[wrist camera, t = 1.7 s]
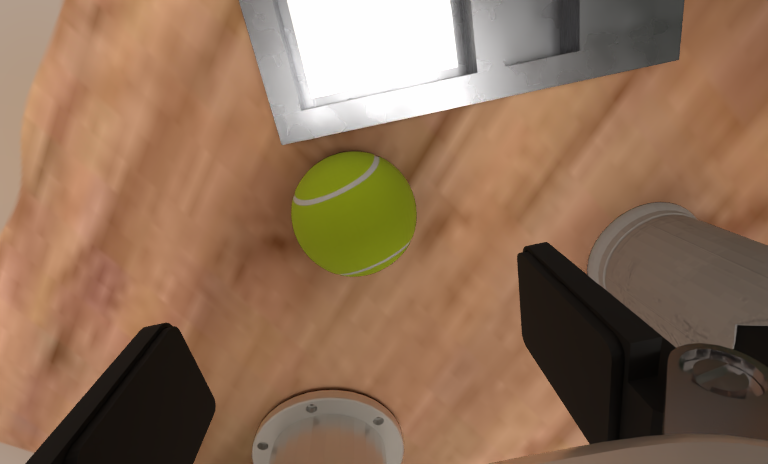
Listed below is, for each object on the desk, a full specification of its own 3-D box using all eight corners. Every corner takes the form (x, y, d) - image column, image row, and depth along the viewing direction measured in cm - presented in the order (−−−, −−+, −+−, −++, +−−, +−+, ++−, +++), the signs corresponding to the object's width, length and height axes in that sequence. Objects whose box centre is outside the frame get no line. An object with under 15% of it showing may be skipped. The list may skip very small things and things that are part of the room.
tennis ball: (422, 221, 25) (446, 267, 19) (330, 261, 26) (322, 319, 19) (381, 124, 23) (393, 138, 16) (280, 171, 23) (252, 203, 17)
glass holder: (710, 192, 26) (1122, 308, 12) (683, 351, 31) (950, 562, 17) (589, 214, 26) (865, 357, 12) (582, 371, 31) (769, 598, 17)
